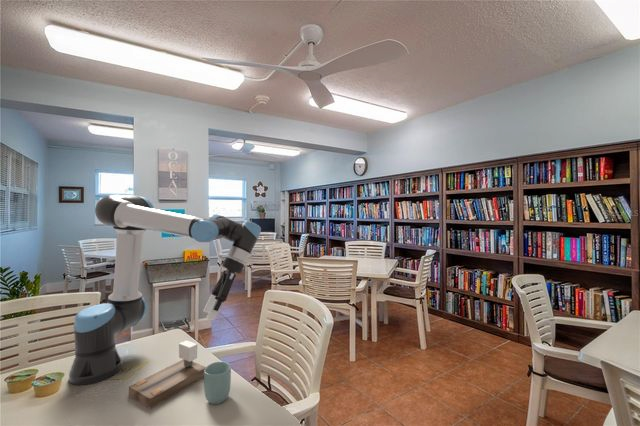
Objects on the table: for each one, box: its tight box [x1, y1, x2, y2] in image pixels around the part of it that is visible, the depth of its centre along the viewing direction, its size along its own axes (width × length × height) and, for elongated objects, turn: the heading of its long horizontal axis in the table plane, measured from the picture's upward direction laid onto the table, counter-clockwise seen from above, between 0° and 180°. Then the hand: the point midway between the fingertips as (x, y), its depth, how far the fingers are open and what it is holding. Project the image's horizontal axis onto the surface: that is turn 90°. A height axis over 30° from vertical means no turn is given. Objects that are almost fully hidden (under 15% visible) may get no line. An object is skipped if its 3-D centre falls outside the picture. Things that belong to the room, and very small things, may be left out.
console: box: [128, 359, 207, 409], centre depth 100 cm, size 12×20×3 cm, turn 149°
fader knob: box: [178, 339, 198, 367], centre depth 106 cm, size 6×3×8 cm, turn 59°
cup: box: [203, 361, 232, 405], centre depth 92 cm, size 8×8×10 cm
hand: (208, 315), depth 105 cm, fingers open, 13 cm apart
